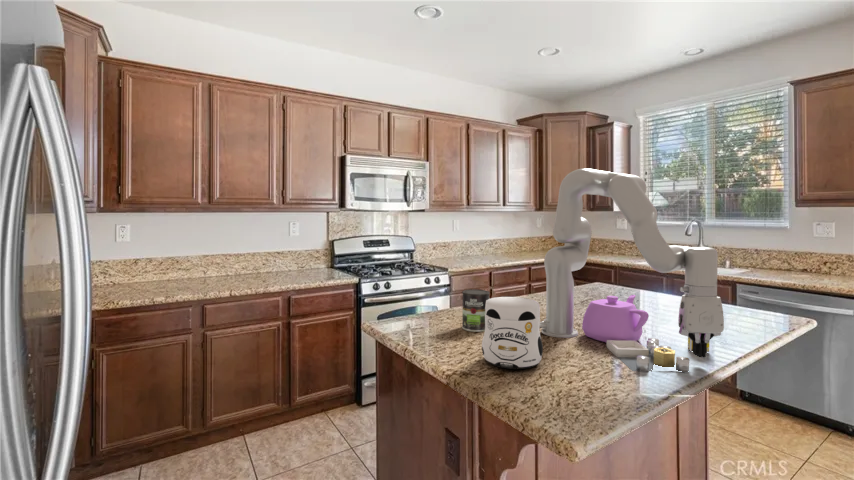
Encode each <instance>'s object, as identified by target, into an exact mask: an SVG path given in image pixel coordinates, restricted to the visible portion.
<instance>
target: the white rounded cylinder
mask: <svg viewBox="0 0 854 480" xmlns="http://www.w3.org/2000/svg"><path fill="white" fill-rule="evenodd" d="M540 306H541V305H540V302H538V301H537V300H535V299H531V298H527V297H518V296H497V297H491V298H489V299H488V300H486V305H485V331H483V332H484V333H483V336H482V340H481V351H482V356H483V359H484V360H485V361H486V362H487V363H489V364H491V365H492V366H494V367H498V368H502V369H509V370H525V369H531V368H533V367H535V366H537V365H539V364H540V362H541V360H542V357H543V354H544V353H543V351H544V348H543V347H544V346H543V341H542V337H541V332H540V329H541V328H540V322H541V317H540V315H541V309H540V308H541V307H540Z"/></svg>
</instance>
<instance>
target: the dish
mask: <svg viewBox="0 0 854 480" xmlns="http://www.w3.org/2000/svg"><path fill="white" fill-rule="evenodd" d="M606 349H607V350H608V351H610V352H611V353H612V354H613V355H614V356H615V355H616V356H615V357H616V358H618V357H637V356H646V357H649V350H648V349H647V347H646V346H644V345H643V344H641V343H639V342H638V340H637V341H631V340H607V342H606Z"/></svg>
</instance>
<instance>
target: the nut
mask: <svg viewBox="0 0 854 480" xmlns="http://www.w3.org/2000/svg"><path fill="white" fill-rule="evenodd" d="M675 362H676V350H673V349H672V348H671V349H668V348H655V349H654V364H655V365H658V366H662V367H674V365H675Z"/></svg>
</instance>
